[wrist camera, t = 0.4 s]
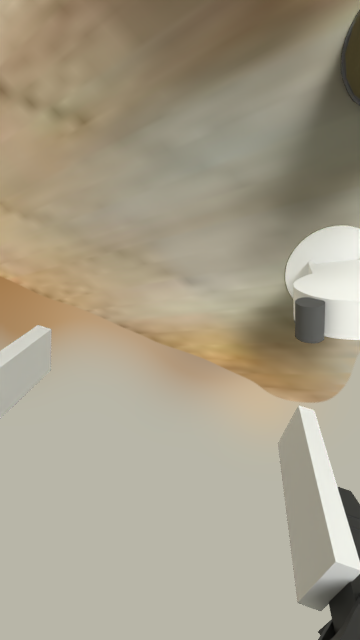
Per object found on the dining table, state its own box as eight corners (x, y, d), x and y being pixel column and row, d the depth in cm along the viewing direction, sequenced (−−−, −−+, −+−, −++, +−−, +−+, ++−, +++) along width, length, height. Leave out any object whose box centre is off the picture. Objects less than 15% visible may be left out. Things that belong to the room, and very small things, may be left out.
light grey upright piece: (280, 316, 41) (298, 380, 27) (278, 233, 36) (297, 260, 23) (378, 310, 38) (450, 378, 24) (388, 218, 33) (483, 241, 20)
